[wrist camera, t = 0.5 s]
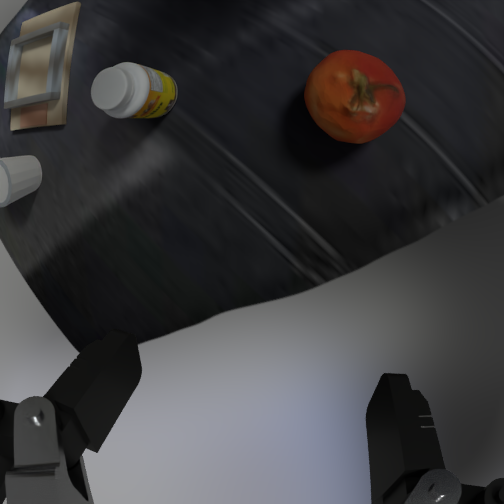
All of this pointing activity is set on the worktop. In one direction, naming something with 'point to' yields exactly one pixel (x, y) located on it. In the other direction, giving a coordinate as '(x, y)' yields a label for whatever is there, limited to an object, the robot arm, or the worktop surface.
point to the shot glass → (18, 178)
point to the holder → (41, 69)
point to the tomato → (354, 96)
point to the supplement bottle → (133, 91)
